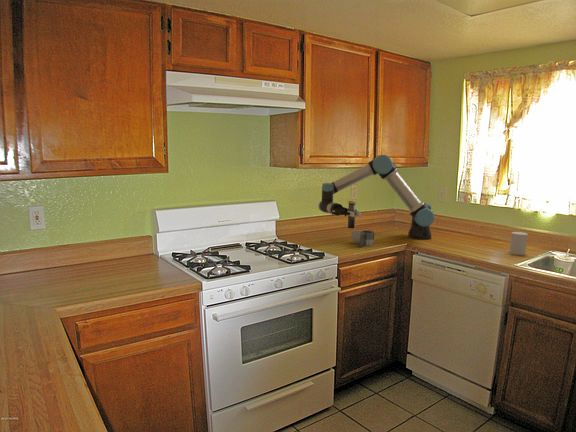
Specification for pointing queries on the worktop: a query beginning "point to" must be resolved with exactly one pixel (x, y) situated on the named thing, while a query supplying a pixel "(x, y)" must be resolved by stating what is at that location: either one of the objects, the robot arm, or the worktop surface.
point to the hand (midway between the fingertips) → (357, 214)
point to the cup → (518, 243)
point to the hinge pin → (351, 219)
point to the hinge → (363, 238)
